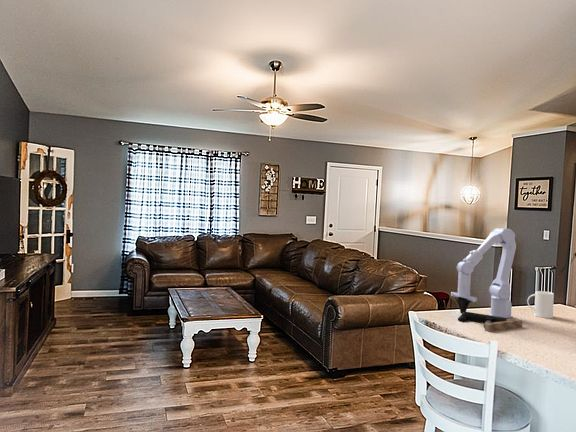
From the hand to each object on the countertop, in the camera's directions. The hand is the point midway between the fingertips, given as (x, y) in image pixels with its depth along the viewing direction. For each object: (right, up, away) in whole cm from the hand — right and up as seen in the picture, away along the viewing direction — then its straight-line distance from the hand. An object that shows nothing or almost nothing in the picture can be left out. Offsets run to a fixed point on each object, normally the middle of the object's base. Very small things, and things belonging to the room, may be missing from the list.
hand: (462, 313), depth 219 cm
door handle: (+4, -3, -12) cm, 13 cm away
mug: (+42, -3, +6) cm, 42 cm away
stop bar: (+10, -2, -21) cm, 23 cm away
